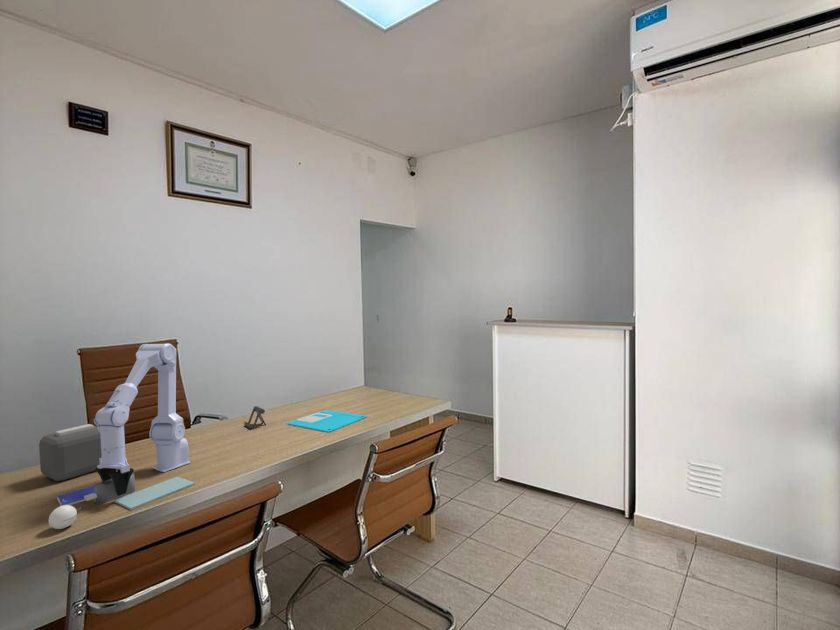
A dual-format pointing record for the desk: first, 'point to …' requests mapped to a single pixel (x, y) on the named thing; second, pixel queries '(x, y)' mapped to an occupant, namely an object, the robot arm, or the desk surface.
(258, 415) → the portable electronic device stand
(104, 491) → the plug
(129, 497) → the mat
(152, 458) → the desk surface
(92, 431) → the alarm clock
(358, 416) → the square teal disk
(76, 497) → the hard drive
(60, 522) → the white egg
